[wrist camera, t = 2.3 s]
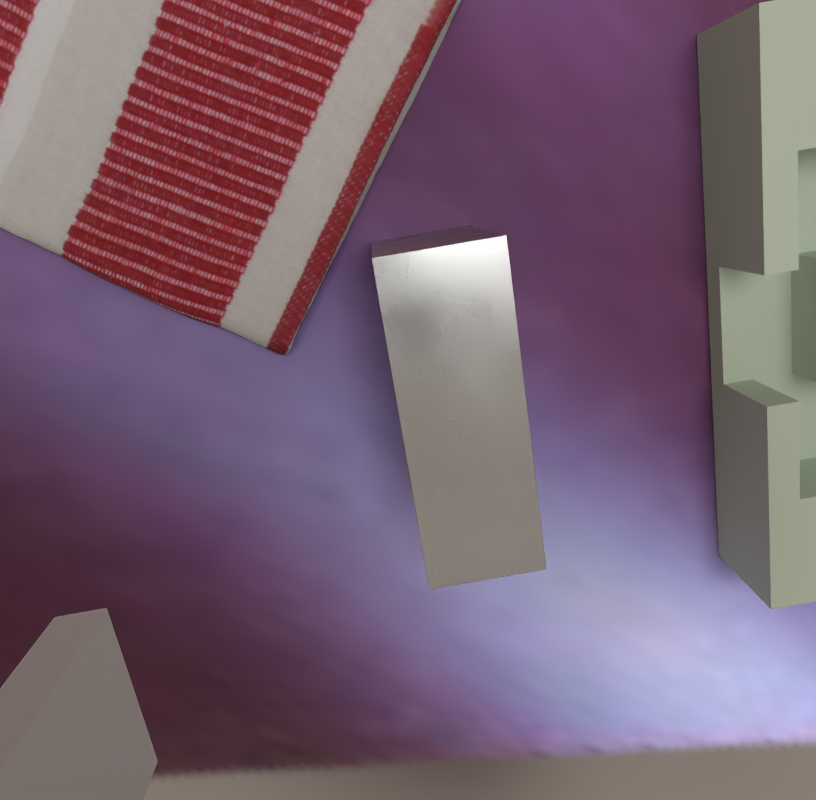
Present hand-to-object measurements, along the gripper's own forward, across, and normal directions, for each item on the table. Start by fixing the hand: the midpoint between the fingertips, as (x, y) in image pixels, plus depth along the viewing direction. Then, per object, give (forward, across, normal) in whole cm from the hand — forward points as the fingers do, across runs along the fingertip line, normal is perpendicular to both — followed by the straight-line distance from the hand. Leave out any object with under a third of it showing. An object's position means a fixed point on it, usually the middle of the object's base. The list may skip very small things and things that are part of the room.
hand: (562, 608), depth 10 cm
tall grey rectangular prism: (+17, 0, 0) cm, 17 cm away
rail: (+17, +14, 0) cm, 22 cm away
